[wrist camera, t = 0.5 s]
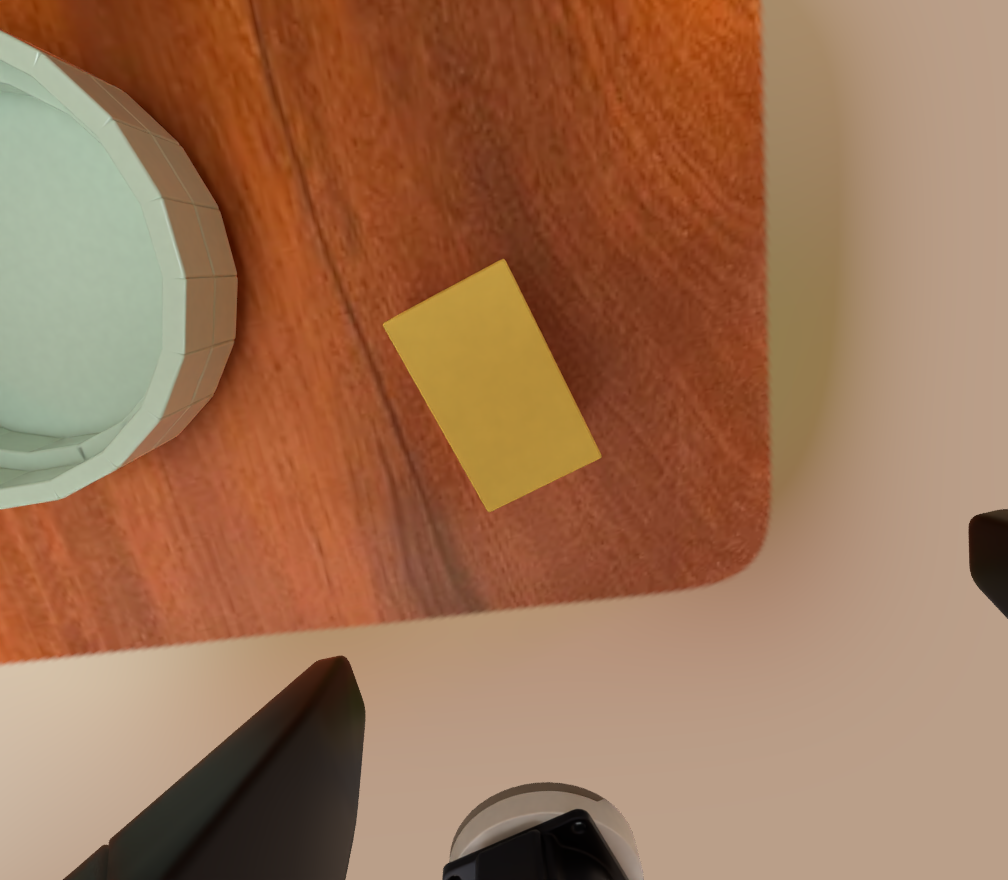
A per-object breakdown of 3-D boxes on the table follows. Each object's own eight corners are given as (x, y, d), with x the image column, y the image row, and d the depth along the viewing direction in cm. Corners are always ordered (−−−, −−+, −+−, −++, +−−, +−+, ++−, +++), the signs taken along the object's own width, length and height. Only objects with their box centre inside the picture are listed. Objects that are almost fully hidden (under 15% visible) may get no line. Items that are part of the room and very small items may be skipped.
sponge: (582, 422, 21) (603, 457, 17) (488, 469, 21) (488, 514, 18) (501, 259, 20) (504, 257, 16) (401, 312, 20) (381, 324, 16)
